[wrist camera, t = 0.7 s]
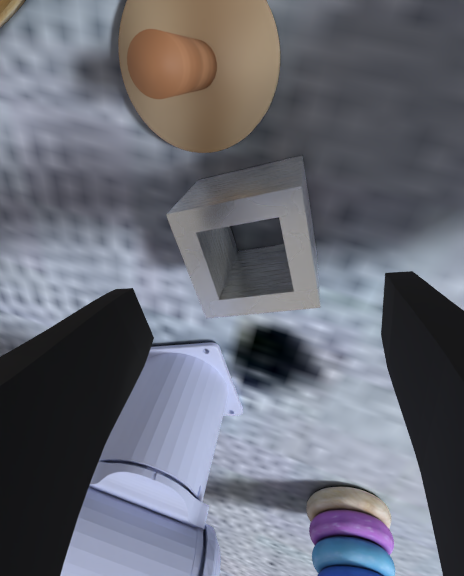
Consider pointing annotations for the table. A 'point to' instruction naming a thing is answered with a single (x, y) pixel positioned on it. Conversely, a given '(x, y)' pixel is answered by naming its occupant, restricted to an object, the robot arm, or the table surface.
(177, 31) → the post stand
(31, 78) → the table surface
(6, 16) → the plant saucer
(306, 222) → the collar
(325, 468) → the table surface
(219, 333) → the table surface
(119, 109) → the table surface
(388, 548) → the stacking toy
